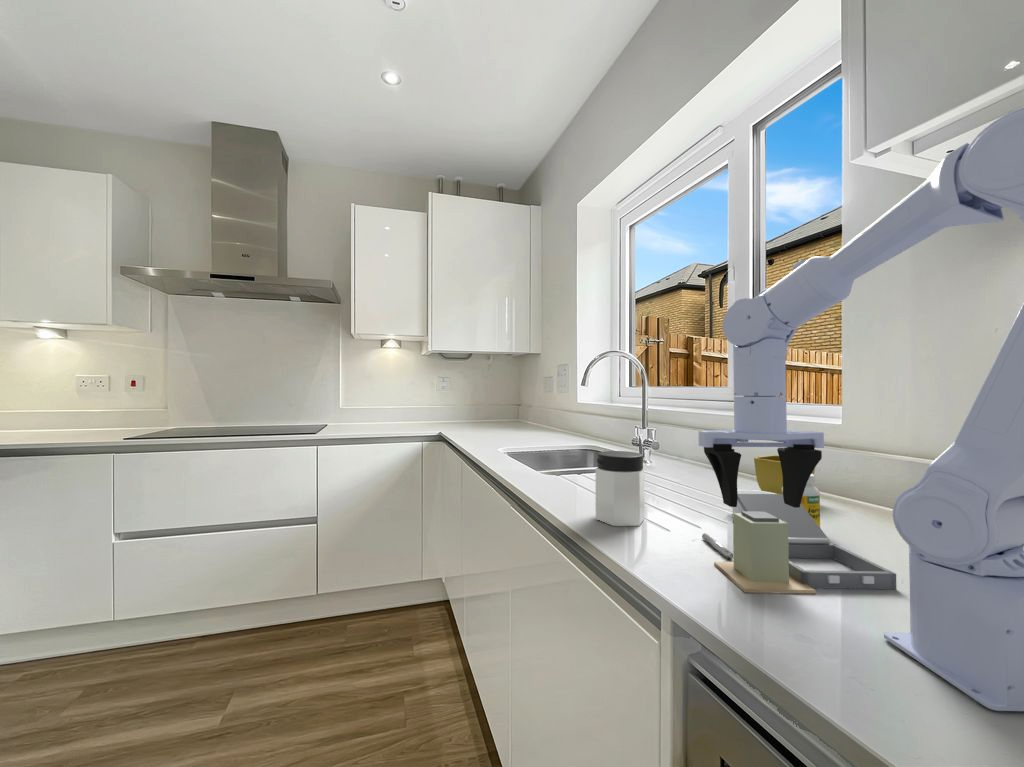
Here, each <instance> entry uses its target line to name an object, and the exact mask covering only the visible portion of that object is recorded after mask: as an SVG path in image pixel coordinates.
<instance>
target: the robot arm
mask: <svg viewBox="0 0 1024 767" xmlns="http://www.w3.org/2000/svg"><path fill="white" fill-rule="evenodd" d="M1002 208H1003V209H1006V210H1007V211H1011V212H1012V213H1014V214H1016V215H1017V216H1018V217H1019V219H1020V220H1021V221H1022V223H1024V106H1023V107H1020V108H1018V109H1015V110H1013V111H1011V112H1009V113H1007V114H1005V115H1003V116H1001V117H999V118H998V119H996V120H994V121H993V122H992V123H990V124H989V125H987V126H986V127H984V129H983V130H981V131H980V132H979V133H978V134H977V135H975V137H974V139H973V140H972V141H971V142H970V143H968V142H966V143H964V144H963V145H961V146H959V147H958V148H956V149H954V150H953V151H951V152H950V153H947V155H946V156H945V157H944V158H943V159H942V160H941V162H940V163H939V164H938V165H937V166H936V168H935V169H934V171H933V172H932V173H931V174H930V175H929V177H927V178H926V180H925V181H923V182H922V183H921V184H920V185H919V186H917V188H915V189H914V190H913V191H912V192H910V193H909V194H907V195H906V196H905V197H904V198H903V199H901V200H900V201H899V202H898V203H896V204H895V205H893V206H892V207H891V208H889V209H888V210H887V211H886V212H885V213H883V215H881V216H880V217H879V218H878V219H876V220H874V222H872V223H871V224H870V225H869V226H867V227H865V229H863V230H862V231H861V232H860V233H858V234H856V236H854V237H853V238H852V239H851V240H849V241H848V242H846V243H845V245H843V246H842V247H841V248H840V249H838V250H836V252H834V253H833V254H832V255H831V256H821V255H820V256H817V255H816V256H812V257H810V258H808V259H807V260H806V259H799V261H797V262H795V264H793V265H792V269H793V270H792V271H791V272H789V273H788V274H786V275H785V276H784V277H783V278H781V279H779V280H778V281H777V282H776V283H774V284H773V285H772V286H770V287H769V288H764V289H762V290H761V291H759V293H758V295H756V296H755V297H752V298H751V297H750V298H748V297H745V298H744V297H743V298H738V299H737V300H736V301H734V303H733V304H732V305H730V307H729V308H728V309H727V311H726V312H725V314H724V316H723V319H722V333H723V335H724V337H725V338H726V340H727V341H728V342H729V343H730V344H732V347H733V349H732V353H733V354H732V356H733V357H732V358H733V359H732V361H733V367H732V369H733V425H734V426H733V428H734V429H725V430H724V429H722V430H720V429H719V430H698V446H699V447H703V451H704V455H705V456H706V458H707V460H708V461H709V463H710V465H711V468H712V469H713V472H714V474H715V476H716V479H717V483H718V485H719V488H720V492H721V497H722V500H723V501H722V502H723V504H725V505H726V506H728V507H730V508H732V507H737V500H738V495H737V490H738V478H739V477H738V475H739V468H740V463H741V462H740V461H741V458H742V454H741V453H740V452H737V451H735V449H734V448H736V447H737V448H777V449H776V451H777V453H778V456H779V458H780V463H781V468H782V475H783V498H784V503H785V504H787V505H790V506H792V507H794V508H799V507H800V504H801V500H802V496H803V493H804V490H805V487H806V484H807V482H808V479H809V477H810V475H811V473H812V472H813V470H814V468H815V469H816V467H817V466H818V464H819V463H820V461H821V460H822V457H823V455H822V454H823V453H822V450H820V449H825V433H824V432H823V431H822V432H821V431H814V430H812V431H811V430H810V431H809V430H787V429H788V427H787V425H788V424H787V418H788V417H787V380H786V379H787V378H786V376H787V373H786V372H787V371H786V370H787V369H786V367H787V366H786V362H787V361H786V358H787V357H786V356H788V347H789V343H790V342H791V341H792V339H793V337H794V336H795V334H796V331H797V329H798V328H799V327H801V326H803V325H804V324H806V323H808V322H809V321H811V320H813V319H814V318H816V317H817V316H819V315H821V314H823V313H824V312H825V311H828V310H829V309H831V308H832V307H834V306H836V305H838V304H839V303H841V302H842V301H844V300H845V299H847V298H849V296H850V294H851V291H852V288H853V284H854V281H855V280H856V279H858V278H860V277H861V276H864V275H865V274H867V273H869V272H870V271H873V270H874V269H876V268H877V267H879V266H881V265H882V264H884V263H886V262H888V261H889V260H891V259H892V258H895V257H896V256H898V255H900V254H901V253H903V252H906V251H907V250H909V249H911V248H912V247H914V246H915V245H917V244H919V243H921V242H922V241H924V240H926V239H928V238H930V237H932V236H933V235H934V234H936V233H938V232H940V231H942V230H944V229H947V228H950V227H959V226H960V227H961V226H970V225H981V224H988V223H989V224H991V223H999V222H1003V221H1004V220H1005V218H1004V213H1003V210H1002ZM750 440H751V441H752V442H749V441H750ZM753 441H773V442H753ZM892 520H893V523H894V525H895V528H896V531H897V533H898V534H899V536H900V537H901V538H902V540H903V541H904V542H905V543H906V544H907V545H908V564H909V566H908V567H909V569H908V570H909V571H908V572H909V574H908V575H909V627H910V631H909V632H894V631H893V632H890V631H889V632H887V631H886V632H884V633H883V638H884V639H885V640H886V641H887V642H890V644H892V645H894V646H895V647H897V648H898V649H899V650H900V651H903V652H904V653H906V655H908V656H910V657H911V658H913V659H914V660H916V661H917V662H919V663H920V664H922V666H924V667H926V668H927V669H929V670H930V671H932V672H934V673H935V674H936V675H938V676H940V677H941V678H942V679H944V680H946V682H948V683H949V684H951V685H953V686H954V687H956V688H957V689H959V690H960V691H961V692H963V693H964V694H966V695H967V696H969V697H970V698H972V699H973V700H975V701H976V702H978V703H979V704H981V705H982V706H984V707H986V708H987V709H989V710H992V711H995V712H1024V302H1023V303H1022V306H1021V308H1020V310H1019V311H1018V313H1017V316H1016V317H1015V320H1014V321H1013V324H1012V325H1011V328H1010V329H1009V331H1008V333H1007V336H1006V337H1005V340H1004V341H1003V343H1002V345H1001V348H1000V349H999V351H998V353H997V355H996V358H995V359H994V361H993V363H992V366H991V368H990V370H989V372H988V374H987V376H986V378H985V380H984V381H983V384H982V386H981V387H980V389H979V392H978V394H977V395H976V397H975V400H974V402H973V404H972V405H971V408H970V410H969V412H968V414H967V416H966V418H965V420H964V422H963V424H962V426H961V427H960V430H959V432H958V434H957V436H956V438H955V439H954V442H952V444H950V446H948V447H947V449H945V450H944V451H943V452H942V453H941V454H940V455H939V456H937V457H936V458H935V459H934V460H933V461H932V462H931V463H930V464H929V465H928V467H927V468H926V470H925V473H924V474H923V476H922V478H921V479H920V480H919V481H918V482H917V483H916V484H914V485H912V486H910V487H909V488H907V489H905V490H904V491H902V492H901V493H900V494H899V495H898V497H897V498H896V499H895V500H894V503H893V507H892Z"/></svg>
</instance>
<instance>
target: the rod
mask: <svg viewBox="0 0 1024 767" xmlns="http://www.w3.org/2000/svg"><path fill="white" fill-rule="evenodd" d="M701 538H702V539H703V540H704V541H705V542H707V543H708V545H710V546H711V547H713V548H714V549H715V550H716V551H717V552H719V553H720V554H721V555H722V556H723V557H725V558H726V559H728V560H733V559H734V552H732V551H730V550H729V549H728V548H726V547H725V546H723V545H722V544H721V543H720V542H719V541H717V539H714V538H713V537H712V536H711V535H709V534H708V533H705V532H704V533H702V535H701Z"/></svg>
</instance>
